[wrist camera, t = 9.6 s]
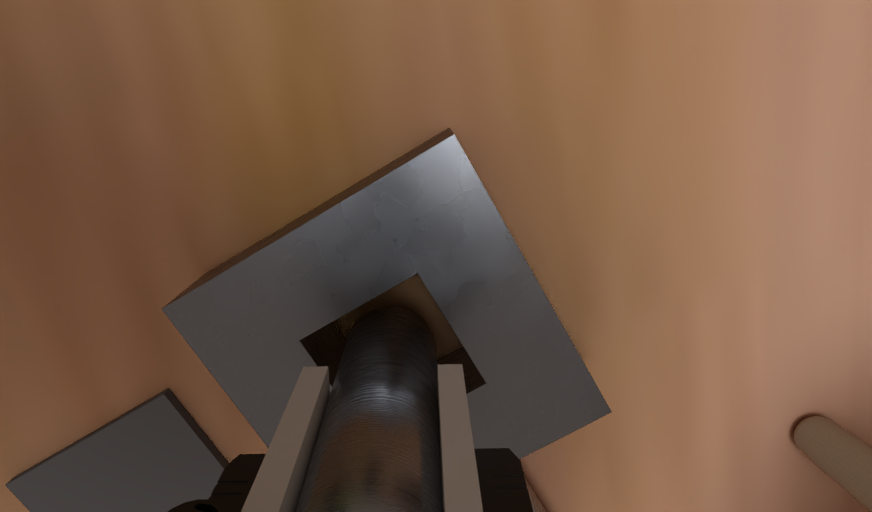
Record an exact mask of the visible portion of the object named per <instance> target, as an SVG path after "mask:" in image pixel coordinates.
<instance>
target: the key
mask: <svg viewBox="0 0 872 512" xmlns="http://www.w3.org/2000/svg"><path fill="white" fill-rule="evenodd" d="M295 512H443V494H442V473H441V452H440V431H439V410H438V371H437V352H436V341H435V337H434V335H433V332H432V330H431V329H430V327H429V326H428V324H427V323H426V322H425V321H424V320H423V319H422V318H421V317H419V316H418V315H416V314H415V313H413V312H411V311H409V310H406V309H402V308H397V307H385V308H379V309H376V310H373V311H371V312H369V313H367V314H365V315H364V316H362V317H361V318H360V319H359V320H358V321H357V322H356V323H355V324H354V325H353V327H352V328H351V330H350V332H349V335H348V338H347V341H346V344H345V348H344V351H343V354H342V358H341V361H340V364H339V367H338V371H337V374H336V377H335V381H334V384H333V387H332V391H331V394H330V397H329V400H328V404H327V407H326V410H325V414H324V417H323V420H322V424H321V427H320V430H319V433H318V437H317V440H316V443H315V447H314V450H313V453H312V457H311V460H310V463H309V466H308V470H307V473H306V476H305V480H304V483H303V486H302V490H301V493H300V496H299V499H298V503H297V506H296V509H295Z"/></svg>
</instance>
